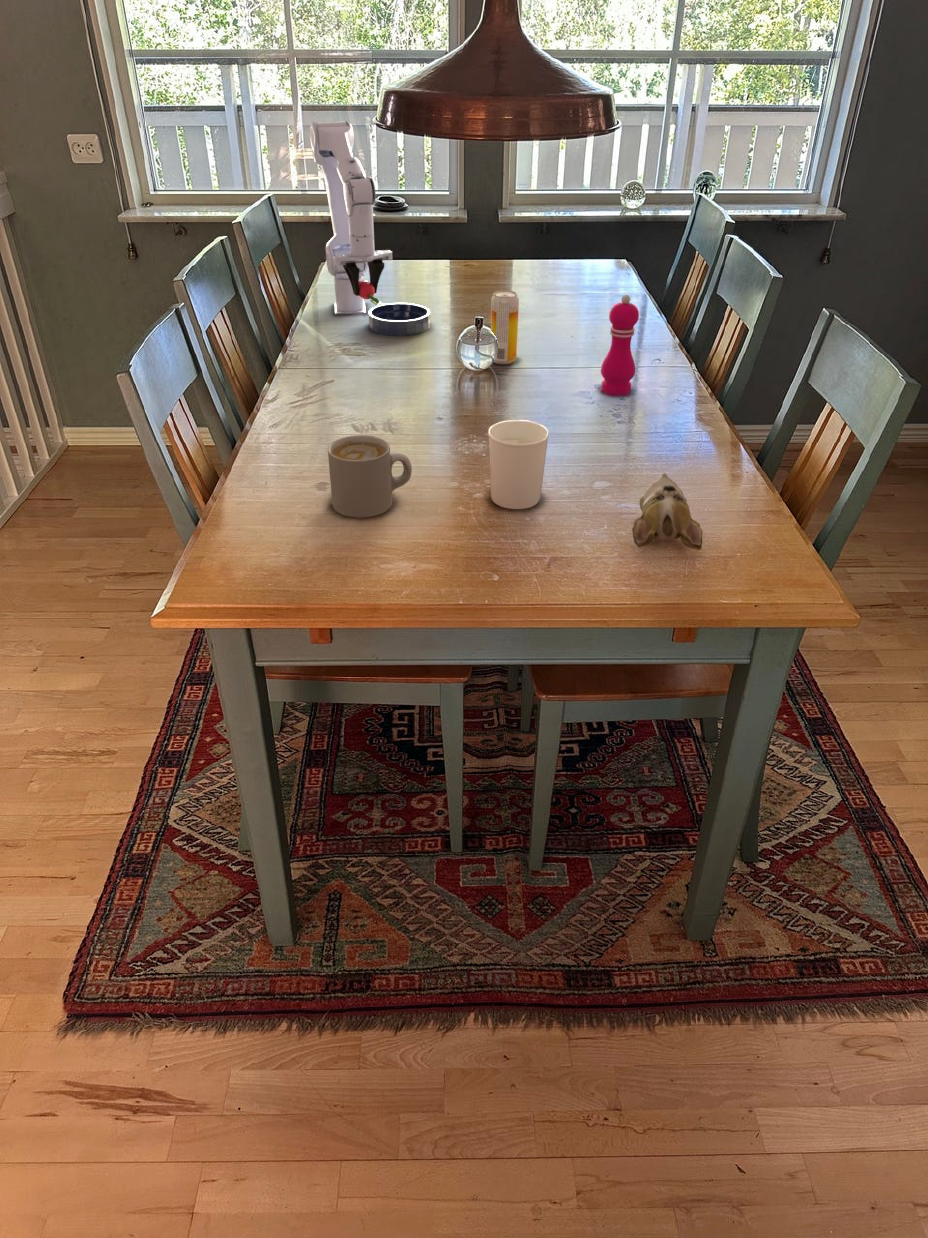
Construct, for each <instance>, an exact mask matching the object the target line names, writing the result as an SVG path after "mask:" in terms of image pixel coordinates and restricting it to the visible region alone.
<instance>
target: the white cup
mask: <svg viewBox="0 0 928 1238" xmlns="http://www.w3.org/2000/svg"><path fill="white" fill-rule="evenodd" d="M487 435H488V456H489V461H488V462H489V485H490V486H489V490H490V498H491V499H490V500H491V501H492V502H493V503H494V504H495V505H497V506H499V507H501V508H504V509H508V510H525V509H529V508H530V509H531V508H532V507H534V506H536V505H537V504H538V503H539V502H540V500H541V496H542V487H543V480H544V473H545V465H546V457H547V450H548V443H549V436H550V432H549V430H548V429H547V427H545V426H544V425H542V424H540V423H538V422H536V421H531V420H526V419H525V420H524V419H507V420H502V421H499V422H496V423H494V424H492V425H491V426H490V427H488V430H487Z"/></svg>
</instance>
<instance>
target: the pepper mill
mask: <svg viewBox="0 0 928 1238" xmlns="http://www.w3.org/2000/svg"><path fill="white" fill-rule="evenodd" d="M620 299H621V301H620V302H617V303H614V305H612V307H611V308H610V311H609V314H608V320H609V322H610V324H611V325H610V330H609V334H610V335H611V343H610V347H609V350H608V352H607V354H606V356H605V357H604V359H603V361H602V363H601V367H600V375H601V376H602V378H603V379H602V381H601V385H600V386H601V387H600V390H601V392H602V393H604V394H605V395H609V396H615V397H619V396H620V397H621V396H626V395H629V394H630V393H631V390H632V382H631V380H632V379H633V378H634V377H635V375H636V363H635V359H634V357H633V353H632V348H631V344H632V343H631V342H632V338H633V336H634V335H635V331H636V328H635V325H636V324H637V323H638V322H639V318H640V312H639V309H638V306H637V305H635V304H633V303H631V297H630V296H629V295H628V294H624V295H622V297H621V298H620Z"/></svg>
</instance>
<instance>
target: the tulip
mask: <svg viewBox="0 0 928 1238" xmlns="http://www.w3.org/2000/svg"><path fill="white" fill-rule="evenodd" d="M375 294H376V293H375V289H374V287H373V285H372V284H371V283H370V281H368V280H365V279H362V280H361V281H359V296H360V297H361V298H363V300H370V303H373V304H374V305H376V306H380V305H384V304H385V303H384V302H382V301H380V299H379V298H377V297H376V296H375Z"/></svg>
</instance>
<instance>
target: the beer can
mask: <svg viewBox="0 0 928 1238" xmlns="http://www.w3.org/2000/svg"><path fill="white" fill-rule="evenodd" d="M490 303H491V304H490V305H491V306H490V332H491V331H492V332H493V333H494V335H495V336H496V338H497V341H498V353H497V358H496V360H494V361H492V363H494V364H499V365H509V364H512V363H514V362H515V360H516V359H517V354H518V353H517V351H518V332H519V331H518V330H519V309H520V308H519V307H520V298H519V296H518V293H517V292H516V291H514V290H506V289H505V290H497V291H494V292H493V295H492V297H491V301H490Z"/></svg>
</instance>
